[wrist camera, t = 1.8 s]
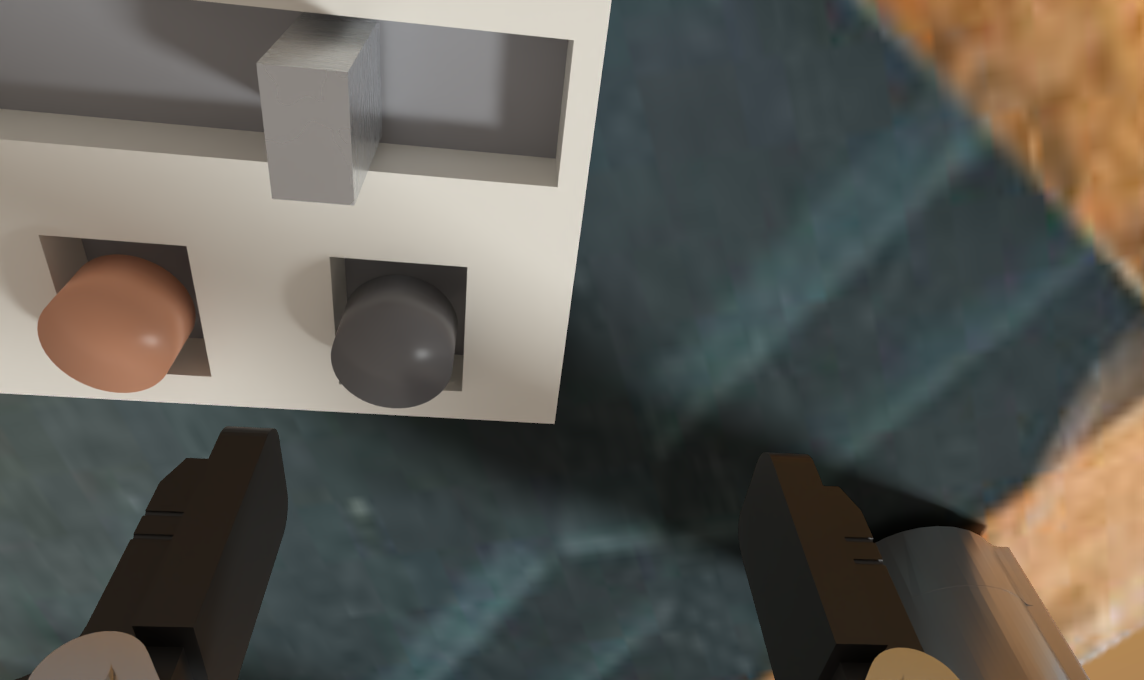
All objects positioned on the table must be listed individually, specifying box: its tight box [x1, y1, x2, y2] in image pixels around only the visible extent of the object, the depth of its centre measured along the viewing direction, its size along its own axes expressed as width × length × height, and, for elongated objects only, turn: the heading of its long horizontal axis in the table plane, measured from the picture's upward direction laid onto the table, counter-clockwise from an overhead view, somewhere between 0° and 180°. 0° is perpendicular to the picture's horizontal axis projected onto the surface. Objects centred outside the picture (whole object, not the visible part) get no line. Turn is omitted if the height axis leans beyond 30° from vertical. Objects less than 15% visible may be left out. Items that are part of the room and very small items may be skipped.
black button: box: [331, 275, 458, 408], centre depth 30 cm, size 4×4×3 cm
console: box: [0, 0, 611, 424], centre depth 29 cm, size 23×18×4 cm
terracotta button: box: [37, 254, 196, 393], centre depth 29 cm, size 4×4×3 cm
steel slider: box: [256, 12, 382, 206], centre depth 25 cm, size 2×4×6 cm, turn 174°
